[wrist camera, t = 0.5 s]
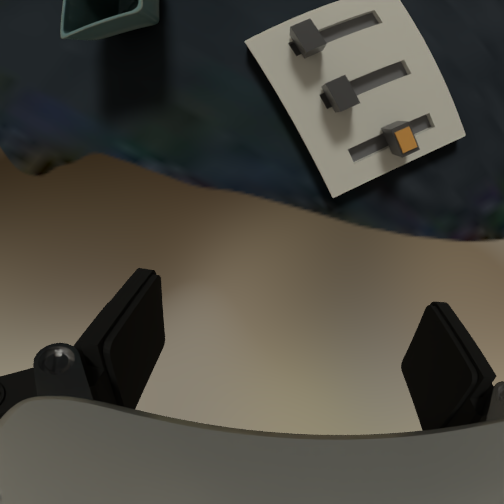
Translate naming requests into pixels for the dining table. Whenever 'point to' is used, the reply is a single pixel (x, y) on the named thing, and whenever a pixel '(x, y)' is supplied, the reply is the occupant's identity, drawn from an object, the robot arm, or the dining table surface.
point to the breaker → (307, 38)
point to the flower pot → (106, 17)
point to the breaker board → (359, 88)
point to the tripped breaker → (400, 138)
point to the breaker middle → (340, 94)
